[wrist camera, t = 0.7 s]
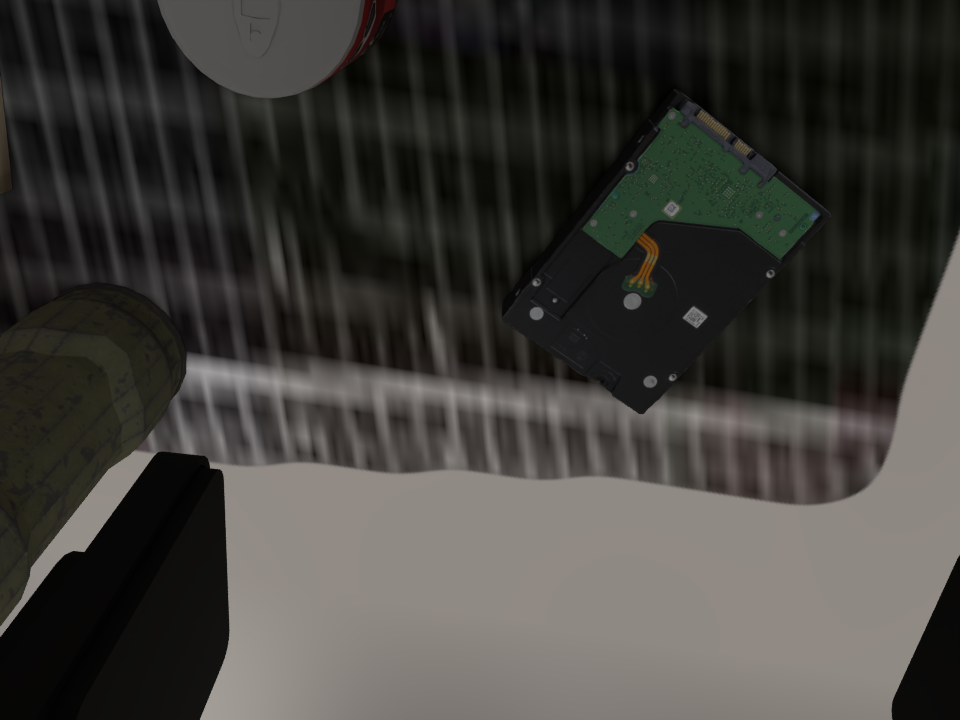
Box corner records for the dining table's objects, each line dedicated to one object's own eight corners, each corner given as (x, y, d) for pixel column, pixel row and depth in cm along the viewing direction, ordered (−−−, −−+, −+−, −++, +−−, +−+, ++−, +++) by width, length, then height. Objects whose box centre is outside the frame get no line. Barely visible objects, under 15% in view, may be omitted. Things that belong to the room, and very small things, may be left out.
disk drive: (638, 395, 49) (819, 198, 43) (645, 419, 47) (837, 214, 41) (498, 302, 47) (669, 81, 41) (497, 322, 44) (679, 90, 38)
